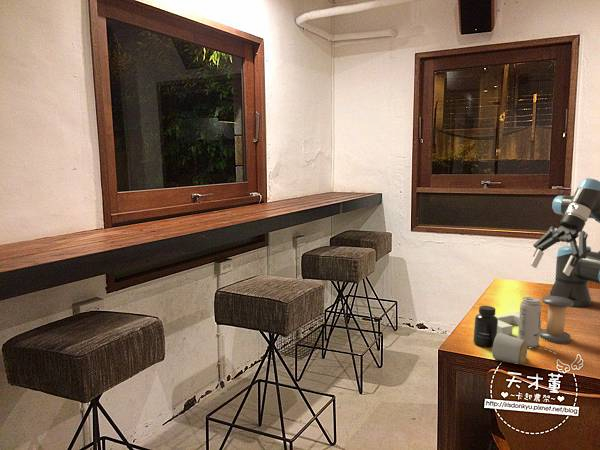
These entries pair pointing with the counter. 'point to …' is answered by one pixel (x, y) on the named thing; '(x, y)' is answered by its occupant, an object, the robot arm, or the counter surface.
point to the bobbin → (556, 319)
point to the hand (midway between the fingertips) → (548, 270)
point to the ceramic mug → (509, 349)
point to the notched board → (508, 322)
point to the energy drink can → (530, 321)
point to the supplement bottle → (485, 327)
